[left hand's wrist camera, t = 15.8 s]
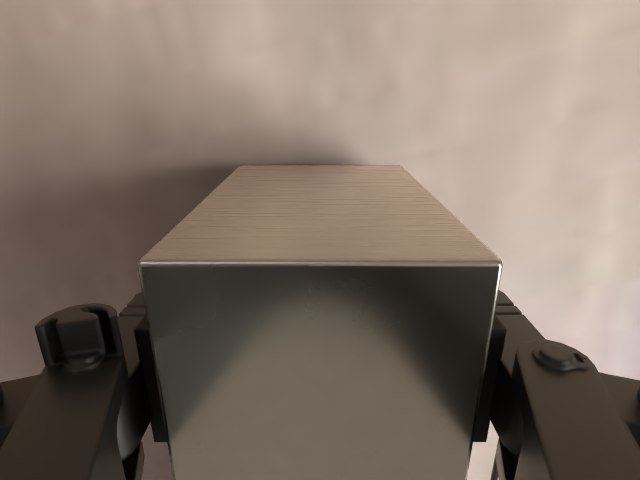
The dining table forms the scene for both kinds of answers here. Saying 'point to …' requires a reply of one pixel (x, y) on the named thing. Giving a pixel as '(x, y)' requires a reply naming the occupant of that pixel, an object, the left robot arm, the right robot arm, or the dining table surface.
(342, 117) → the dining table surface
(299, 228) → the bar
